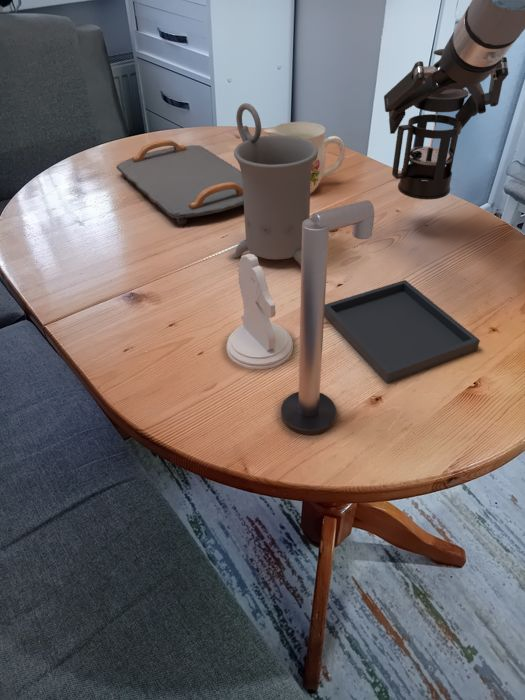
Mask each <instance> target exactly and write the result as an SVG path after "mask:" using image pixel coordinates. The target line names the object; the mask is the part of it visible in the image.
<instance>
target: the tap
mask: <svg viewBox="0 0 525 700" xmlns="http://www.w3.org/2000/svg"><path fill="white" fill-rule="evenodd" d="M374 220H375V208H374V205H373V203H372V202H371V201H370V200H368V199H365V200H361V201H357V202H353V203H349V204H345V205H341V206H337V207H336V206H335V207H333V208H328V209H324V210H319V211H316V212H313V213H311V217H309V219H306V220H304V221H303V223H302V257H301V266H300V304H299V305H300V310H299V320H300V321H299V359H298V360H299V361H298V391H296V392H293V393H292V394H289V395H288V396H287V397H286V398H284V401H283V402H282V404H281V407H280V416H281V421H282V423H283V425H284V426H285V427H286V428H287V429H289V430H290V431H291V432H294V433H295V434H298V435H303V436H316V435H321V434H324V433H326V432H327V431H329V430H330V429H331V428H332V427H333V425H334V424H335V421H336V417H337V408H336V405H335V403H334V401H333V400H332V399H331V398H330V397H329V396H328V395H326V394H324V393H322V392H321V379H322V377H321V376H322V362H323V361H322V360H323V343H324V327H325V326H324V323H325V317H324V309H325V304H326V291H327V271H328V255H329V238H330V237H329V236H330V232H331V231H334V230H339V229H342V228H346V227H350V226H352V231H351V235H352V237H353V238H355V239H356V240H368V239H371V238H372V236H373V230H374V222H375V221H374Z"/></svg>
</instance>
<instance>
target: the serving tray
mask: <svg viewBox="0 0 525 700" xmlns="http://www.w3.org/2000/svg"><path fill="white" fill-rule="evenodd" d="M162 147H169V148H163V149H158V148H162ZM154 149H157V150H154ZM152 150H153V151H152ZM115 167H116V169H117V170H118V171H119V172H120V173H121V174H122V175H123V176H124V177H125V178H126V179H127V180H128V181H129V182H130V183H132V184H133V185H135V186H136V188H137V189H138V190H139V191H140V192H142V193H143V194H144V195H145V196H147V198H148V199H149V201H150V202H151V203H154V204H155V205H157V207H159V208H160V209H161V210H162V211H163V212H164V213H165V214H166V215H168V217H170V218H171V219H176V223H177V224H178V225H179V226H181V227H183V226H186V225H187V223H188V218H195V217H200V216H201V217H202V216H207V215H211V214H217V213H222V212H226V211H228V210H231V209H235V208H238V207H241V206H244V199H243V183H242V174H241V169H238V168H237V167H236V166H234V165H233V164H231V163H229V162H228V161H226V160H224V159H223V158H221V157H220V156H218V155H216V154H215V153H213V152H212V151H210V150H208V149H207V148H205V147H204V146H202V145H195V144H191V145H185V144H182V145H179V144H178V143H177V142H175V141H174V140H171V139H162V140H157V141H153V142H150V143H148V144H145V145H144V146H142V148H141V149H140V150H139V152H138V153H137V154H136V155H135V156H132V157H131V158H129V159H126V160H124V161H121V162H120V163H118V164H117V165H116V166H115Z"/></svg>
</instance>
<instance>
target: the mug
mask: <svg viewBox="0 0 525 700" xmlns="http://www.w3.org/2000/svg"><path fill="white" fill-rule="evenodd" d="M245 110H247V112H249V113H250V115H251V116H252V118H253V120H254V127H255V129H254V130H255V131H254V134H253V135H252V134H251V132H250V130H249V127H248V126H247V125H244V124H243V113H244V111H245ZM235 119H236V120H235V121H236V126H237V130H238V133H239V136H240V138H241V140H242V142H241V143H239V144H238V145H236V147H235V148H234V150H233V156H234V159H235V160H236V161H237V163H238V165H239V170H240V171H241V174H242V183H243V199H244V204H243V213H244V214H243V215H244V230H245V231H244V233H245V239H244V240H242V241H240V242H239V243H238V245H237V247H236V250H235V253H233V254H232V255H231V256H232V258H233V259H238V258H241V256H242V255H243V253H245V252H247V251H249V252H250V254H254V255H255V257H259V258H263V259H267V260H285V259H291V258H293V259H294V260H295V261H296V262H297V263H298V264H299V266H300V267H301V257H302V223H303V221H304V220H306V219H309V218H311V217H310V213H311V212H310V210H311V193H310V180H311V170H312V165H313V161H314V159H315V158H316V156H317V154H318V148H317V146H316V145H315V144H314V143H313V142H311V141H309V140H307V139H304V138H300V137H296V136H288V135H269V134H268V135H262V136H261V134H262V123H261V118H260V115H259V113H258V111H257V110H256V108H255V107H254V106H253V104H250V103H247V102H246V103H242V104H240V106H239V107H237V111H236V117H235Z"/></svg>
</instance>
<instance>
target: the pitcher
mask: <svg viewBox="0 0 525 700" xmlns="http://www.w3.org/2000/svg"><path fill="white" fill-rule="evenodd" d="M262 131H263V133H265V134H267V135H268V136H269V135H288V136H296V137H300V138H304V139H307V140H309V141H311V142H313V143H314V144H315V145H316V146H317V148H318V154H317V156H316V158H315V159H314V161H313V165H312V170H311V180H310V194H312V193H313V192H315V190H316V189H317V188H318V186H319V185H320V183H321V180H322V179H324V178H327V177H329V176H331V175H333V174H334V173H336V172H337V171H338V170H339V169H340V167H342V165H343V163H344V159H345V153H346V148H345V144H344V141H343V140H342V139H341V138H340V137H339V136H337V135H331V136H328V137H326V138H325V135H326V128H325V126H323V125H322V124H319V123H316V122H311V121H290V122H284V123H280V124H278V125H275V126H270V127H269V126H268V127H265V128H263V130H262ZM324 138H325V139H324ZM332 143H335V144H337V146H338V158H337V160H336V161H335V163H333V165H332V166H330V167H329V168H327V169H325V168H326V159H327V157H326V156H327V155H326V148H327V146H328V145H330V144H332Z"/></svg>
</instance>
